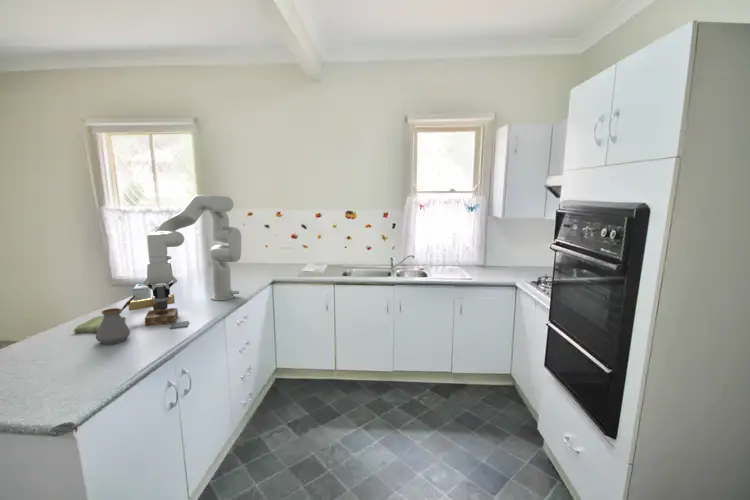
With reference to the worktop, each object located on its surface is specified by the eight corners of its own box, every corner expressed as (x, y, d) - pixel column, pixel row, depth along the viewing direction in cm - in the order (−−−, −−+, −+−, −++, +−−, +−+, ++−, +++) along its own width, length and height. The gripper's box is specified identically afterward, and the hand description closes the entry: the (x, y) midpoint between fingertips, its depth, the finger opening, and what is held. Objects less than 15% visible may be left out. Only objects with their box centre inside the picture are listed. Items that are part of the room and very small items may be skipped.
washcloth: (127, 320, 168) (127, 313, 168) (104, 334, 151) (103, 326, 150) (98, 320, 167) (97, 314, 166) (71, 334, 149) (70, 327, 149)
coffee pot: (118, 346, 138) (115, 310, 136) (88, 346, 138) (85, 309, 135) (150, 326, 159) (148, 295, 157) (124, 326, 159) (122, 294, 156)
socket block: (178, 314, 177) (177, 303, 176) (175, 323, 164) (174, 312, 163) (150, 316, 172) (149, 306, 171) (145, 326, 159) (144, 315, 159)
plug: (171, 305, 171) (169, 282, 169) (170, 309, 165) (168, 286, 163) (155, 306, 169) (153, 283, 167) (153, 311, 163) (151, 287, 161)
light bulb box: (137, 302, 194) (136, 283, 192) (151, 301, 197) (150, 282, 195) (133, 308, 184) (132, 288, 183) (148, 306, 187) (147, 287, 186)
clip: (175, 303, 176) (174, 294, 175) (129, 311, 163) (128, 301, 162) (173, 302, 178) (172, 293, 177) (128, 309, 165) (127, 299, 164)
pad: (188, 322, 167) (188, 320, 166) (187, 327, 160) (187, 325, 160) (171, 323, 164) (171, 322, 164) (169, 328, 157) (169, 327, 157)
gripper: (179, 256, 170) (182, 293, 173) (139, 259, 163) (142, 296, 166) (178, 259, 163) (181, 297, 166) (135, 262, 156) (139, 301, 159)
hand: (161, 296), depth 166 cm, fingers closed on plug, 4 cm apart
